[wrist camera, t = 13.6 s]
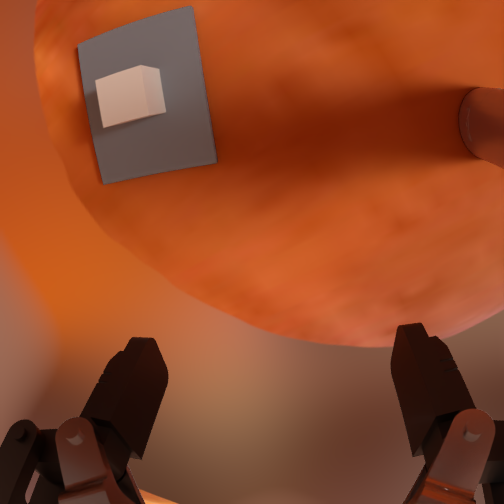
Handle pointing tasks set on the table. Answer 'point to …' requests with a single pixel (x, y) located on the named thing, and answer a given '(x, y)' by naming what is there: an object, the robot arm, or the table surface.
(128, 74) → the cream cube
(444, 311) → the table surface
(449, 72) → the table surface
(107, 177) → the slate mat
